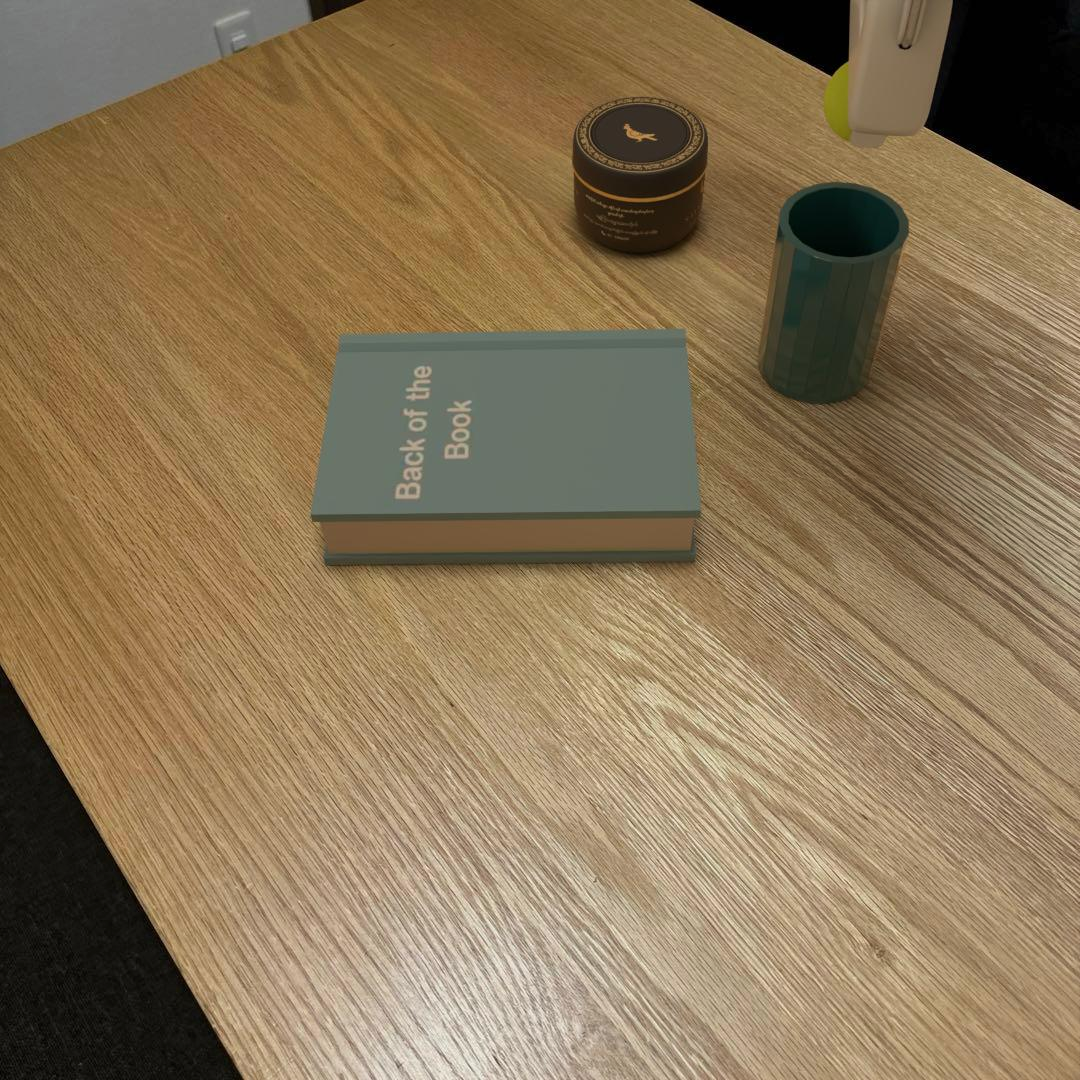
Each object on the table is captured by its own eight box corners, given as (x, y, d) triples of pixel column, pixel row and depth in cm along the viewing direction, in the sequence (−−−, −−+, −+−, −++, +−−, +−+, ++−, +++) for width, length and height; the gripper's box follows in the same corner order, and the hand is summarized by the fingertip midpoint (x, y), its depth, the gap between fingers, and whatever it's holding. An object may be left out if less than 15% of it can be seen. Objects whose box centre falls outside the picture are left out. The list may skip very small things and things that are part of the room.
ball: (899, 116, 69) (917, 41, 65) (900, 163, 66) (918, 89, 62) (818, 110, 69) (831, 36, 66) (816, 157, 67) (829, 83, 63)
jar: (688, 269, 89) (695, 183, 82) (558, 250, 90) (556, 164, 84) (712, 188, 94) (720, 102, 88) (589, 171, 96) (589, 85, 90)
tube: (872, 329, 84) (908, 186, 75) (871, 409, 80) (910, 268, 70) (760, 319, 85) (782, 177, 76) (753, 397, 81) (775, 257, 71)
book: (325, 565, 73) (310, 514, 69) (353, 377, 83) (341, 324, 79) (695, 561, 72) (701, 510, 68) (679, 373, 82) (684, 318, 78)
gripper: (1006, -39, 49) (928, 233, 60) (980, -241, 61) (920, 16, 72) (850, -47, 50) (801, 222, 61) (855, -245, 62) (814, 10, 73)
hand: (865, 109), depth 66 cm, fingers closed on ball, 4 cm apart
